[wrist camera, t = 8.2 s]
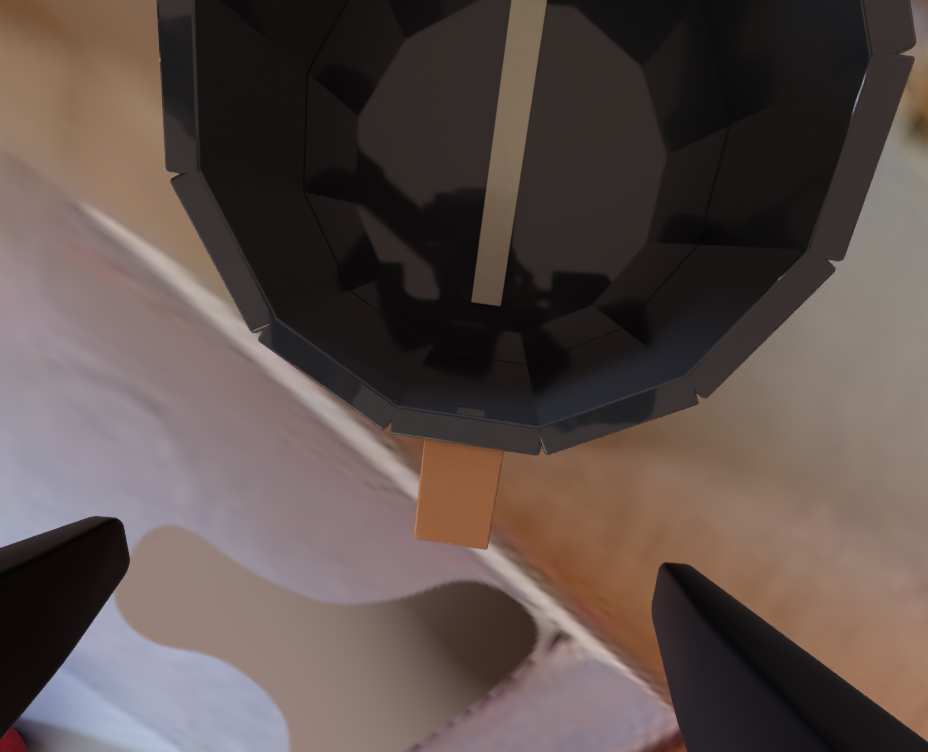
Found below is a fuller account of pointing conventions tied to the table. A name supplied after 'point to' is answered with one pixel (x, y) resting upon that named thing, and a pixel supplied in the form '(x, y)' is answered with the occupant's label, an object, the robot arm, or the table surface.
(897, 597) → the table surface
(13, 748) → the apple
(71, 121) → the table surface
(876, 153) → the bowl
